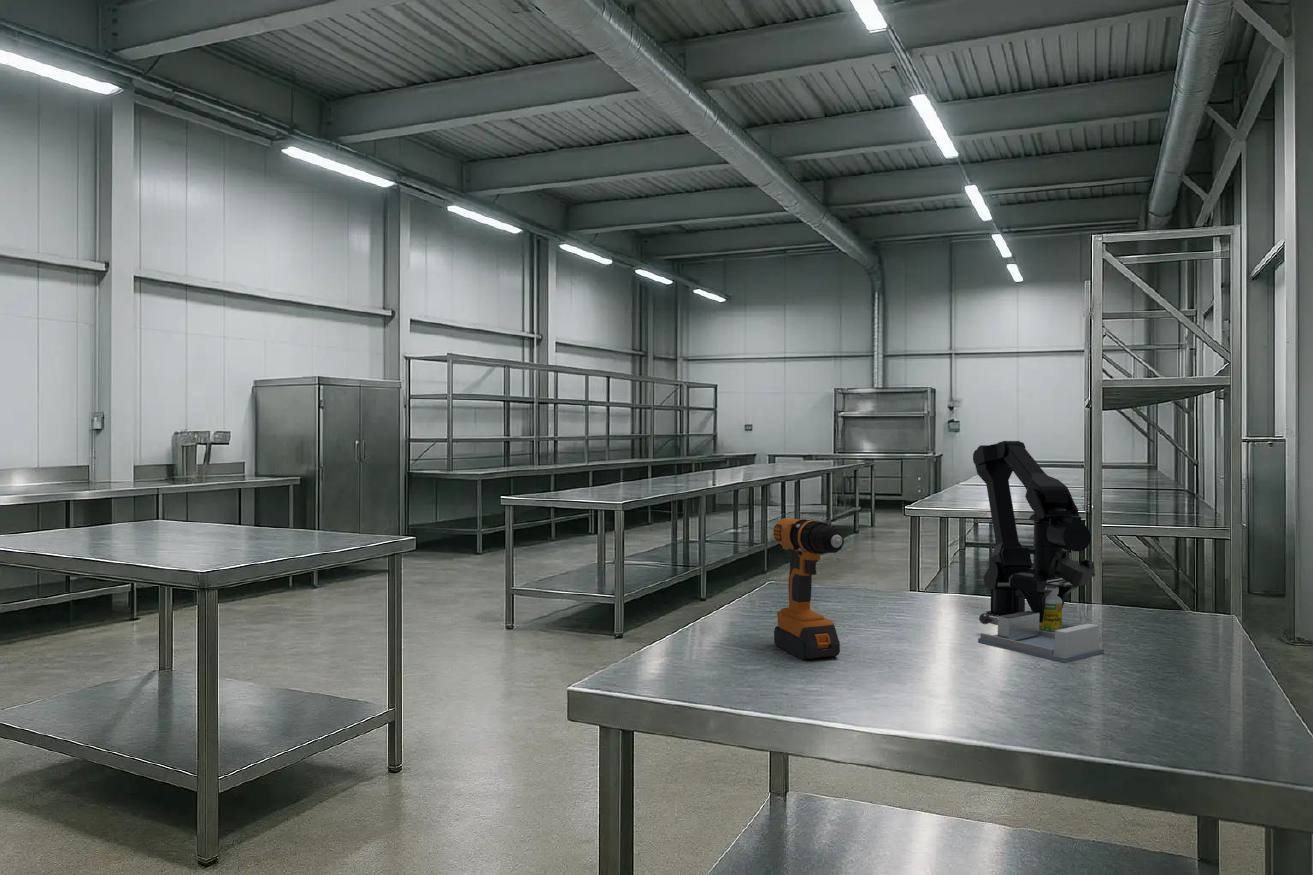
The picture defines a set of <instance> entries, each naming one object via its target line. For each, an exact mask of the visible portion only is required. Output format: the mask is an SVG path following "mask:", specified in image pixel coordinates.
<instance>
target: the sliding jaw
mask: <svg viewBox="0 0 1313 875" xmlns="http://www.w3.org/2000/svg"><path fill="white" fill-rule="evenodd" d="M978 620H979V622H980V623H981V624H982V625H988V624H990V625H995V626H997V634H998V637H1002V638H1006V639H1010V640H1019V639H1023V638H1028V637H1033V636H1038V635H1039V613H1037V612H1032V610H1026V611H1025V612H1020V613H1014V614H1009V615H1003V616H997V617H996V616H990V614H986V612H985V613H980V614H979V617H978Z"/></svg>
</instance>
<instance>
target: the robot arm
mask: <svg viewBox="0 0 1313 875" xmlns="http://www.w3.org/2000/svg"><path fill="white" fill-rule="evenodd" d="M972 460H973V461H972V462H973V464H974V465H975V469H976V474H977V475H978V477H979V478H980V479H981V480H982V481H983V482H984V484H986V485H985V486H986V490H987V497H988V502H989V509H990V516H991V523H992V528H993V535H994V540H995V546H994V548H993V551H992V553H991V556H990V558H989V559H990V566H989V567H988V568H987V569H986V572H985V573H984V575H983V582H984V583H983V584H984V587H986V588H989V589H990V610H988V611H987V610H986V611H985V613H986V614H988V615H992V616H995V617H996V616H997V617H998V616H1003V615H1009V614H1014V613H1020V612H1025V610H1026V602H1027V604H1028V607H1029V608H1030V611H1032V612H1037V613H1039V622H1043V617H1044V609H1045V599H1046V597H1047V596H1048V595H1049V594H1050V593H1051V592H1052V591H1051V590H1047V585H1053V586H1057V587H1059V593H1058V594H1057V596H1059V597H1060V598H1061V599H1062V609H1063V608H1064V606H1065V605H1064V604H1065V602H1066V599H1067V598H1068V595H1069V594H1070V593H1071V592H1073V591H1074V590H1076V589H1078V588H1079V587H1081V586H1088V585H1089V582H1090V581H1091V578H1094V577H1095V576H1096V573H1095V563H1094V561H1092V560H1090V559H1089V558H1084V559H1082V560H1081V561H1079V560H1073V559H1071V557H1070V552H1069V551H1073V552H1082V551H1084V550H1086V549H1087V548H1088V547H1089V545H1090V543H1091V540H1092V534H1091V532H1090V529H1089V528H1088V526H1087V525H1086V524H1085V523H1083V522H1082V517H1081V516H1080V514H1079V509H1078V508H1079V507H1077V505H1076V504H1075V501H1074V498H1073V496H1072V494H1071V492H1070V490H1069V488H1068V487H1067V485H1066V484H1064V483H1063V482H1062V481H1061V480H1060V479H1058V478H1055V477H1053V476H1049V475H1048V474H1047V473H1046V472H1045V471H1044V469H1042V468H1041V466H1040V465H1039V464H1038V462H1037V461H1036V460H1035V459H1034V457H1033V456H1032V455H1031V454H1030V453H1029V451H1028V450H1027V449H1026V445H1025V443H1024V442H1023V441H1020V440H1002V441H999V442H997V443H992V444H989V445H988V444H986V445H985V444H984V445H983V444H981V445H978V447H977V449H975V450H974V452H973V454H972ZM1013 473H1014V474H1015V476H1016V477H1017V478H1018V480H1019V481H1020V482H1021V484H1022V485H1023V486H1024V488H1025V490H1026V491H1025V496H1024V497H1025V499H1026V502H1027V503H1028V504H1029V507H1030V508H1031V510H1032V511H1033V512H1034V513H1033V514H1031V515H1030V516H1029V521H1032V522H1033V548H1029V547H1024V546H1023V545H1022V543H1021V542H1020V540H1019V537H1018V536H1019V535H1018V530H1017V529H1018V528H1017V523H1016V516H1015V511H1014V505H1013V498H1012V493H1011V486H1010V482H1009V481H1010V478H1011V476H1012V474H1013ZM1031 555H1033V556H1031ZM1032 557H1033V558H1032ZM1032 560H1033V562H1032Z"/></svg>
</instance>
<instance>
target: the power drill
mask: <svg viewBox="0 0 1313 875" xmlns="http://www.w3.org/2000/svg"><path fill="white" fill-rule="evenodd" d="M773 538H774V540H775V541H776V542H777V543H778V544H779V545H781V546H782V549H783V551H784V552H785V553H787V554H788V556H789V576H788V606H787V607H782V608H780V610H779V611H777V612H776V617H777V622H776V623H777V625H776V626H775V627H774V630H773V642H774V645H776V646H777V647H779V648H781V649H783V650H784V651H786V652H788V653H789V654H791V655H794V656H795V657H797V658H798V659H799V660H803V661H804V660H812V659H813V660H814V659H823V658H830V657H831V658H832V657H837V656H839V655H840V654H841V653H840V652H841V649H840V648H841V647H840V646H841V644H840V639H839V636H838V633H837V630H836V629H837V628H836V626H835V622H834V621H832V620H831V619H828V618H826V617H825V616H824V615H822V614H820V613H817V612H815V611H813V610H811V600H812V582H813V581H812V580H813V579H812V577H813V576H815V575H817V574H818V573H817V566H816V565H817V563H818V562H819V561H820V560H821V555H822V554H823V555H824V554H835V553H838V552H840V550H842V548H843V546H844V544H845V536H844V534H843V532H842V531H841V530H839V529H838V528H836V527H833V526H831V525H829V524H828V523H826V522H822V521H819V520H815V519H806V518H798V519H797V518H788V517H785V518H781V519H780V520H779V521H777V523H776V524H775V525H774V526H773Z"/></svg>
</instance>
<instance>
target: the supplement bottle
mask: <svg viewBox="0 0 1313 875" xmlns="http://www.w3.org/2000/svg"><path fill="white" fill-rule="evenodd" d="M1047 590H1051V591H1052V592H1051V593H1050V594H1049V595H1048V596H1047V597H1046V599H1045V609H1044V617H1043V622H1039V630H1042V631H1047V632H1052V633H1055V630H1060V629H1063V608H1062V599H1061V598H1060V597H1059V596H1057V594H1058V593H1059V587H1057V586H1053V585H1047Z"/></svg>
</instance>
